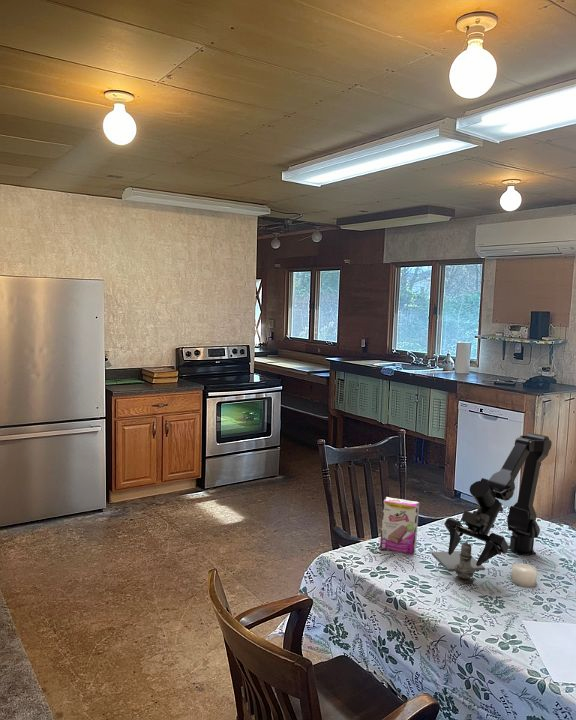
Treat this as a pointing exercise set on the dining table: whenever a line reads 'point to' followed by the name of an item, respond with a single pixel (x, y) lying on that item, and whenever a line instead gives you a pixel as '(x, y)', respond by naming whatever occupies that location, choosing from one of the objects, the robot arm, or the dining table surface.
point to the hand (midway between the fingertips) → (462, 559)
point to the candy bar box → (399, 525)
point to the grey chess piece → (464, 565)
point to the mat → (454, 560)
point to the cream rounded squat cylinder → (524, 574)
